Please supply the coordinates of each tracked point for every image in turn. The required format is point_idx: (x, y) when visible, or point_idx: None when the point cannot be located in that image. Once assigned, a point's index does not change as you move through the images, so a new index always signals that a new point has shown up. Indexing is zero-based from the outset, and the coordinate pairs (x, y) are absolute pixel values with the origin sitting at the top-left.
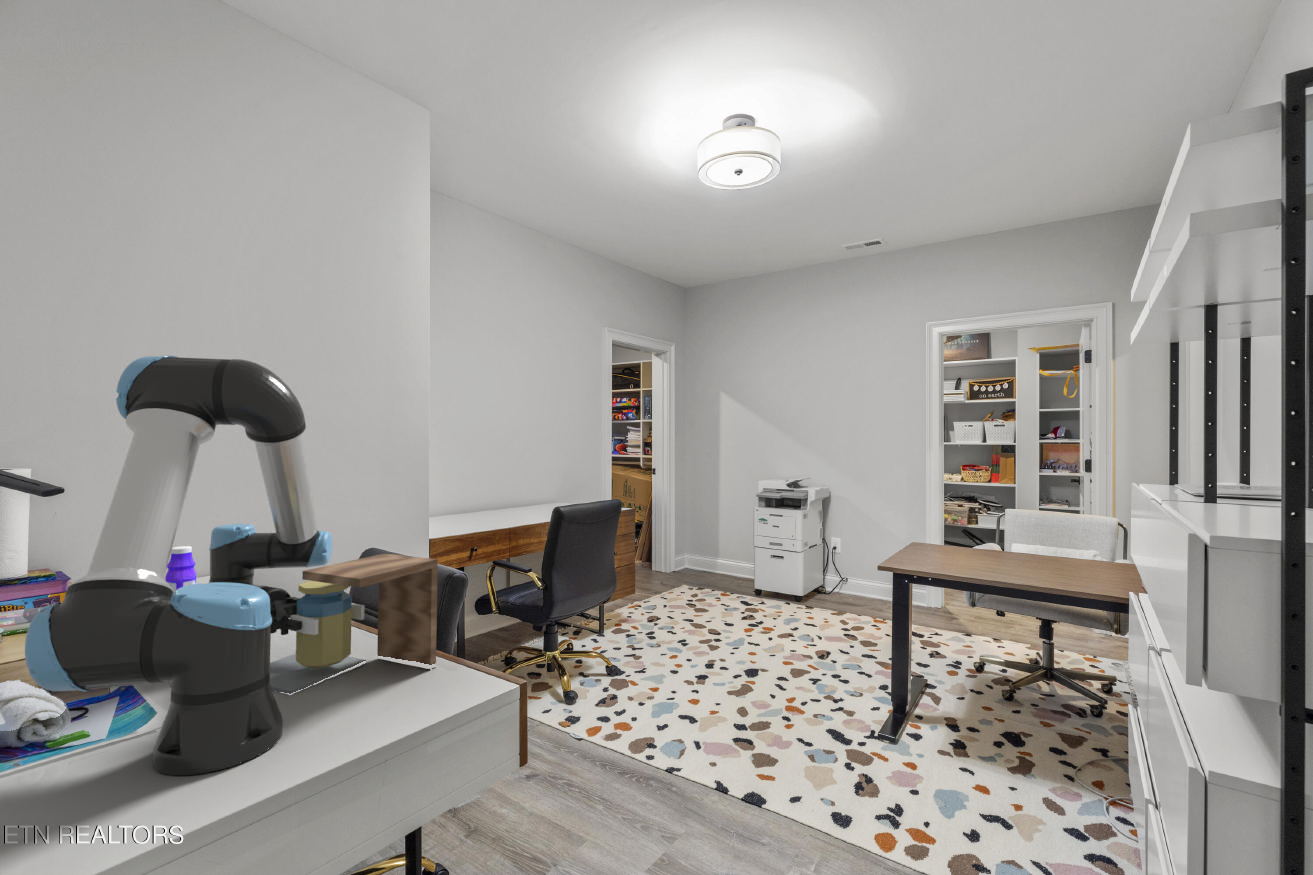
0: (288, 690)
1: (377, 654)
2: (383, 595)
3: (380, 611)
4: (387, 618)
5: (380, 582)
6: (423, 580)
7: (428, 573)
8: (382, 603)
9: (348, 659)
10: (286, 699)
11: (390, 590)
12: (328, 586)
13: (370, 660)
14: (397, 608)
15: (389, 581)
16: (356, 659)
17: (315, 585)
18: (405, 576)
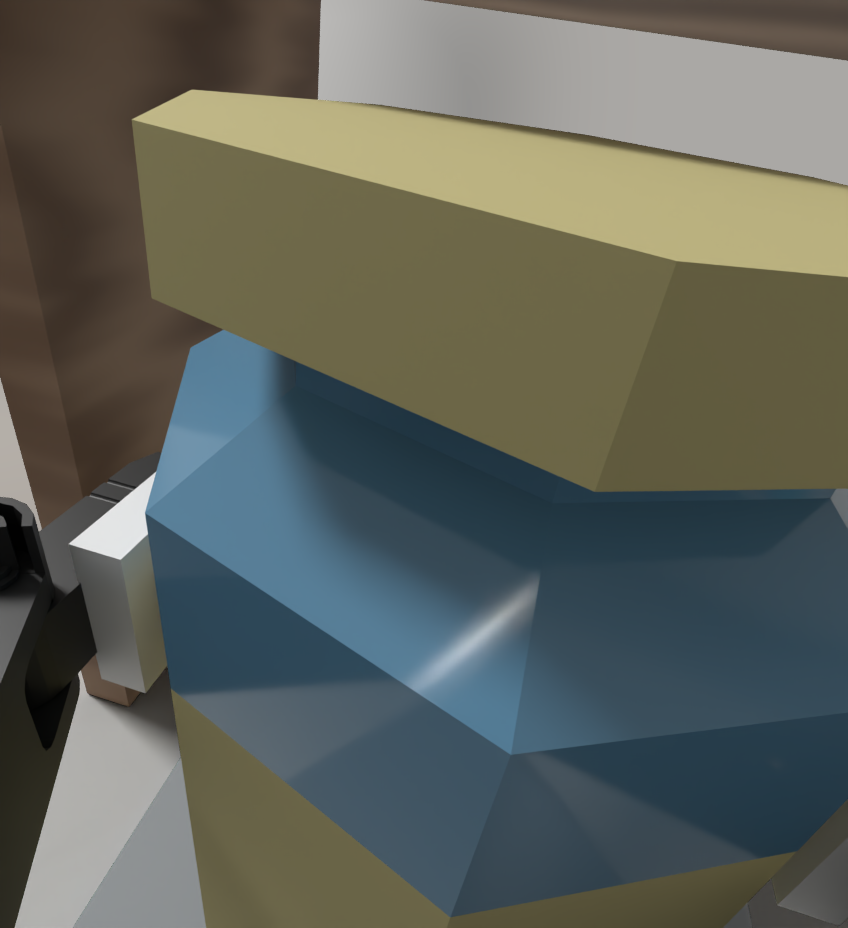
0: (745, 913)
1: (124, 687)
2: (91, 283)
3: (91, 431)
4: (146, 436)
5: (31, 157)
6: (294, 76)
7: (308, 24)
8: (95, 357)
9: (176, 846)
10: (771, 888)
11: (139, 211)
12: (722, 163)
13: (140, 739)
14: (193, 325)
15: (115, 125)
16: (184, 786)
17: (824, 198)
18: (217, 56)
